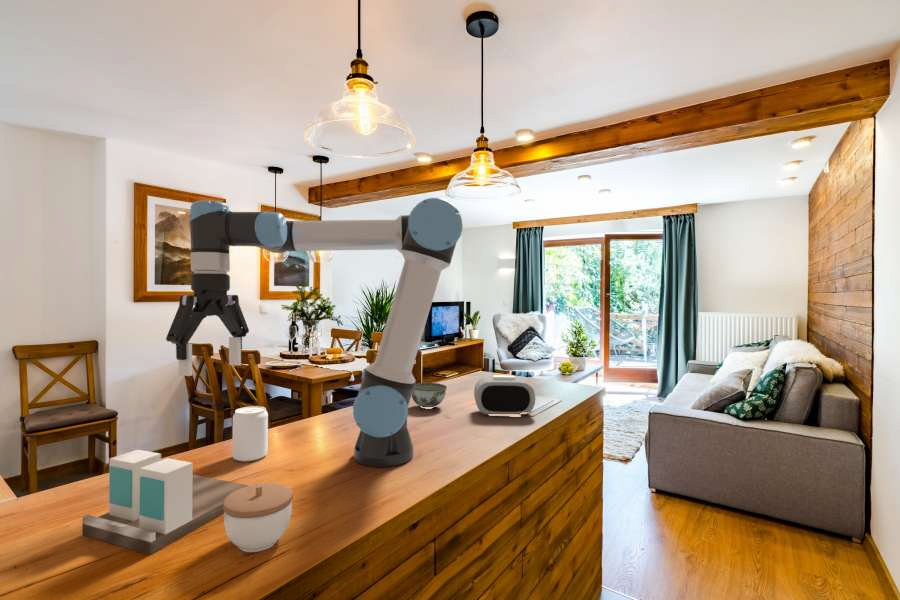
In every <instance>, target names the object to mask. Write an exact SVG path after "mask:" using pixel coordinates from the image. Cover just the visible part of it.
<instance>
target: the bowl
mask: <svg viewBox="0 0 900 600" xmlns="http://www.w3.org/2000/svg"><path fill="white" fill-rule="evenodd" d="M447 387H448V386H447V385H445V384H442V383H437V382H418V383H415V385H414V388H413V392H412V395H411V399H412V401H413V402H414V403H415V404H416V405H418V406H419V405H420V406H422V407H434V406H436V407H437V406H439V405H441V403H442V402H443V401H444V399H445V395H446V392H447Z"/></svg>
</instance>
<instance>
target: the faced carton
mask: <svg viewBox="0 0 900 600" xmlns="http://www.w3.org/2000/svg"><path fill="white" fill-rule="evenodd" d="M193 464H194V463H193V462H191V461H185V460H181V459H175V458H169V457H167V458H163V459H161V461H158V462H155V463H153V464H150V465H147V466H145V467H142V468H140V485H139V528H143V529H146V530H150V531H154V532H158V533H162V534H167V533H169V532H171V531H173V530H175V529H177V528H178V527H180V526H182V525H184V524H186V523H188V522H190V521H191V520H192V487H193V476H194V474H193V472H194V469H193V467H194V465H193Z"/></svg>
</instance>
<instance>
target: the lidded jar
mask: <svg viewBox="0 0 900 600" xmlns="http://www.w3.org/2000/svg"><path fill="white" fill-rule="evenodd" d="M293 497H294V492H293V490H292V489H291V488H290V487H289V486H288V485H285V484H282V483H276V482H275V483H274V482H267V483H266V482H264V483H257V484H252V485H251V484H250V485H249V486H247V487H244V488H241V489H238V490H236V491H234V492H232V493H231V494H229V495H228V496H227V497H226V498H225V500H224V502H223V510H224V514H223V524H224V528H225V533H226V534H227V537H228V539H229V540H230V542H231V543H232V544H233V545H235V546H236V547H238V549H239V550H240V551H241V552H245V553H258V552H264V551H266V550H268V549H270V548H272V547H274V546H275V545H276V544H277V542H278V541H277V540H279V539H280V538H281V537H282V536H283V535H284V533H285V532H286V530H287V529H288V526H289V523H290V520H291V517H292V508H293V499H294V498H293ZM275 543H276V544H275ZM274 544H275V545H274Z"/></svg>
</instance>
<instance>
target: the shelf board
mask: <svg viewBox="0 0 900 600" xmlns="http://www.w3.org/2000/svg"><path fill="white" fill-rule="evenodd" d="M247 486H250V485H249V484H243V483H238V482H233V481H229V480H228V481H227V480H222V479H218V478H212V477H207V476H202V475H197V474H193V487H192V520H191V521H190V522H188V523H186V524H184V525H182V526H180V527H178V528H177V529H175V530H173V531H171V532H169V533H167V534H162V533H158V532H154V531H150V530H146V529H143V528H139V519H137V520H134V521H131V520H127V519H123V518H119V517H116V516H112V515H109V511H108V512H106V513H104V514H102V515H100V516H94V515H91V514H86V515H83V516H82V536H83V537H87V538H90V539H94V540H98V541H101V542H104V543H108V544H111V545H113V546H114V545H115V546H119V547H122V548H124V549H125V548H126V549H129V550H132V551H135V552H140V553H142V554H145V555H146V554H147V555H148V556H152V555H153V554H155V553H157V552H159V551H160V550H162V549H164V548H165V547H167V546H169V545H171V544H172V543H174V542H176V541H178V540H179V539H182V538H183V537H184V536H187V535H189V534H190V533H192V532H194V531H195V530H197V529H200V528H201V527H202V526H205V525H206V524H208V523H209V522H211V521H213V520H215V519H217V518H218V517H220V516H222V515H224V510H223V502H224V500H225V498H226V497H227V496H228V495H229V494H231V493H232V492H234V491H236V490H238V489H241V488H244V487H247Z"/></svg>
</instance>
